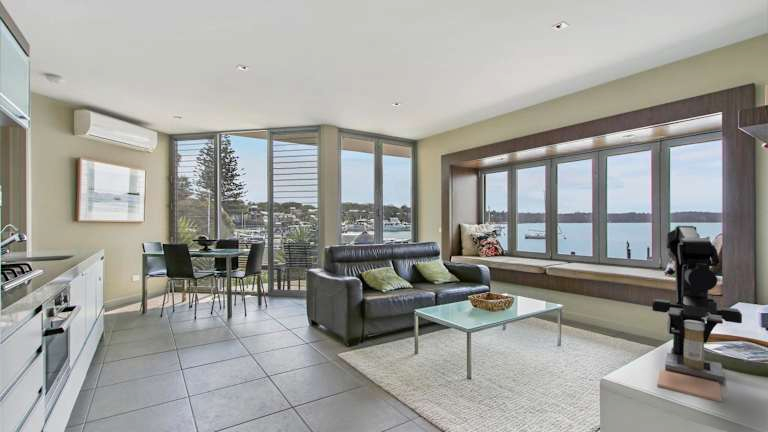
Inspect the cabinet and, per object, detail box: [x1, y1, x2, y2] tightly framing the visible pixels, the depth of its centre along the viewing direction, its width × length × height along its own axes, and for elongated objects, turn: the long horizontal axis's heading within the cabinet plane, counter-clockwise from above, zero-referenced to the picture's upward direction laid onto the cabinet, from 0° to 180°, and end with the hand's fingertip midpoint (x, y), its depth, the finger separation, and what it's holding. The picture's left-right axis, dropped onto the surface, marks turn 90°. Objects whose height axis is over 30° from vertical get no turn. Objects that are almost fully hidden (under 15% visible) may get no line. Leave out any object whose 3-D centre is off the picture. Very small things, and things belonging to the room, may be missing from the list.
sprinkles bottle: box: [684, 320, 705, 370], centre depth 103 cm, size 5×5×14 cm
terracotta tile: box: [657, 369, 723, 403], centre depth 94 cm, size 12×12×1 cm
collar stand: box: [664, 352, 725, 385], centre depth 103 cm, size 12×12×2 cm
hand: (693, 341), depth 103 cm, fingers closed on sprinkles bottle, 4 cm apart
